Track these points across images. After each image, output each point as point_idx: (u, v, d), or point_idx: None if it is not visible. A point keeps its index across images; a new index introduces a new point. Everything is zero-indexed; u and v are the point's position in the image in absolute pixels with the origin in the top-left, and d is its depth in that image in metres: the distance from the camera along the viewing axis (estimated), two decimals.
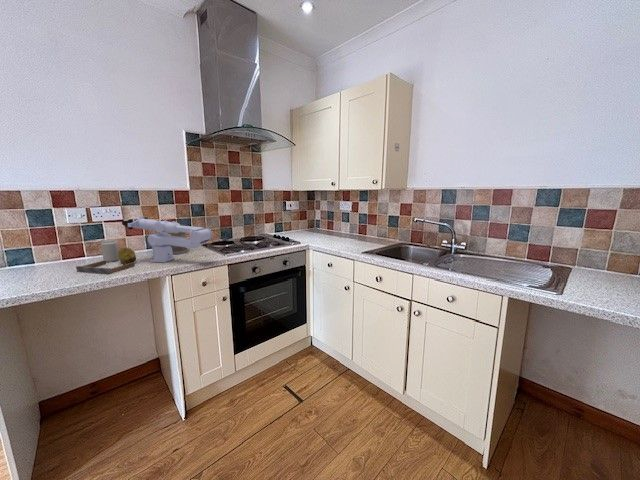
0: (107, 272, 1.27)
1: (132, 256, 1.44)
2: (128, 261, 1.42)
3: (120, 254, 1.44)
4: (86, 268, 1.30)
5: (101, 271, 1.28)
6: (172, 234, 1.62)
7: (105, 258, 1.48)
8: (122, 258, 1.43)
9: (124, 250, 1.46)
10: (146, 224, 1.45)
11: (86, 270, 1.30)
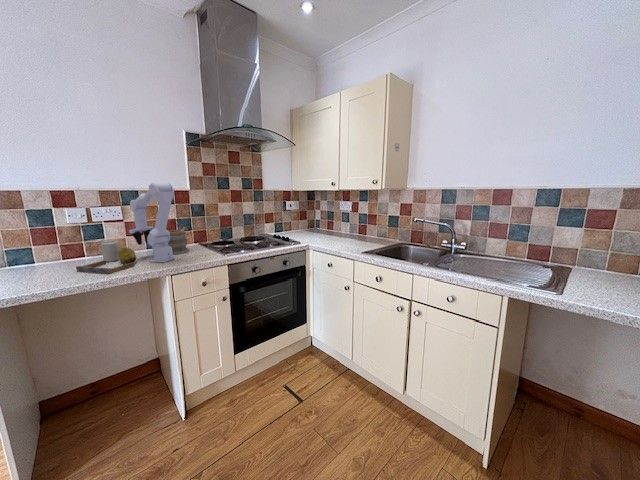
0: (107, 272, 1.27)
1: (132, 256, 1.44)
2: (128, 261, 1.42)
3: (120, 254, 1.44)
4: (86, 268, 1.30)
5: (101, 271, 1.28)
6: (172, 234, 1.62)
7: (105, 258, 1.48)
8: (122, 258, 1.43)
9: (124, 250, 1.46)
10: (134, 218, 1.52)
11: (86, 270, 1.30)
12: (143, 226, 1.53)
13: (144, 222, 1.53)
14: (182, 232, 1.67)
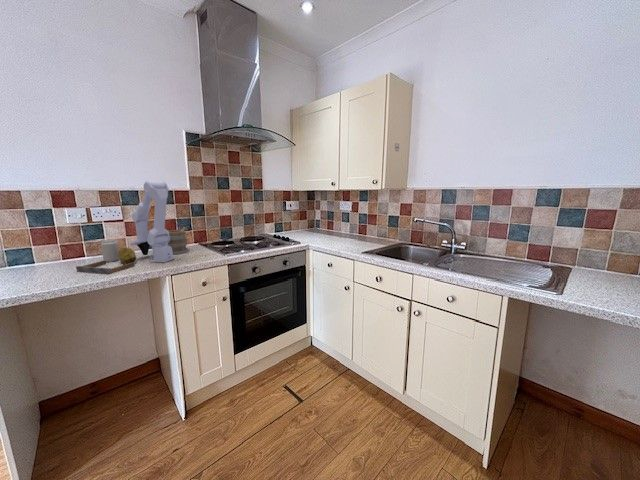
0: (107, 272, 1.27)
1: (132, 256, 1.44)
2: (128, 261, 1.42)
3: (120, 254, 1.44)
4: (86, 268, 1.30)
5: (101, 271, 1.28)
6: (172, 234, 1.62)
7: (105, 258, 1.48)
8: (122, 258, 1.43)
9: (124, 250, 1.46)
10: (136, 230, 1.53)
11: (86, 270, 1.30)
12: (145, 238, 1.54)
13: (146, 234, 1.55)
14: (182, 232, 1.67)
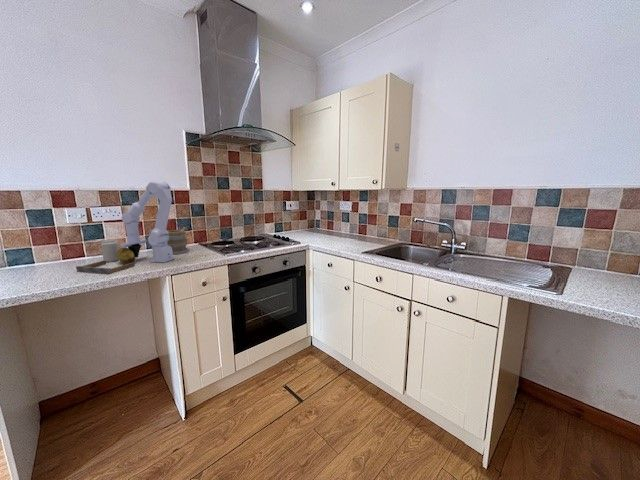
0: (107, 272, 1.27)
1: (131, 256, 1.43)
2: (127, 261, 1.42)
3: (119, 254, 1.44)
4: (86, 268, 1.30)
5: (101, 271, 1.28)
6: (172, 234, 1.62)
7: (105, 258, 1.48)
8: (121, 258, 1.42)
9: (123, 250, 1.45)
10: (127, 232, 1.47)
11: (86, 270, 1.30)
12: (135, 240, 1.48)
13: (136, 235, 1.49)
14: (182, 232, 1.67)
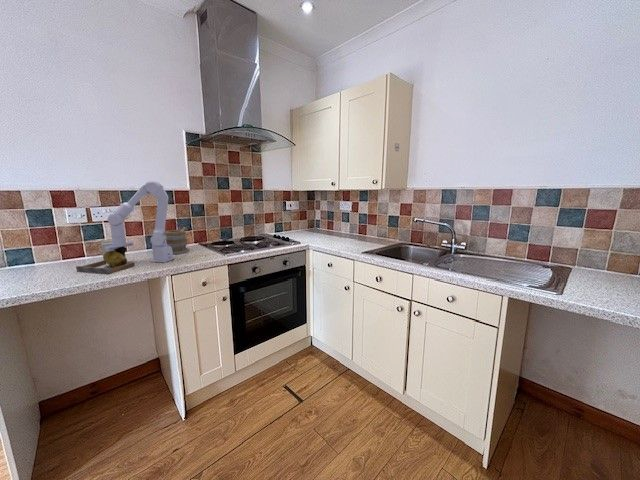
0: (107, 272, 1.27)
1: (123, 258, 1.37)
2: (120, 264, 1.36)
3: (108, 258, 1.36)
4: (86, 268, 1.30)
5: (101, 271, 1.28)
6: (172, 234, 1.62)
7: None
8: (112, 262, 1.35)
9: (111, 253, 1.38)
10: (115, 234, 1.39)
11: (86, 270, 1.30)
12: (121, 242, 1.40)
13: (122, 238, 1.41)
14: (182, 232, 1.67)
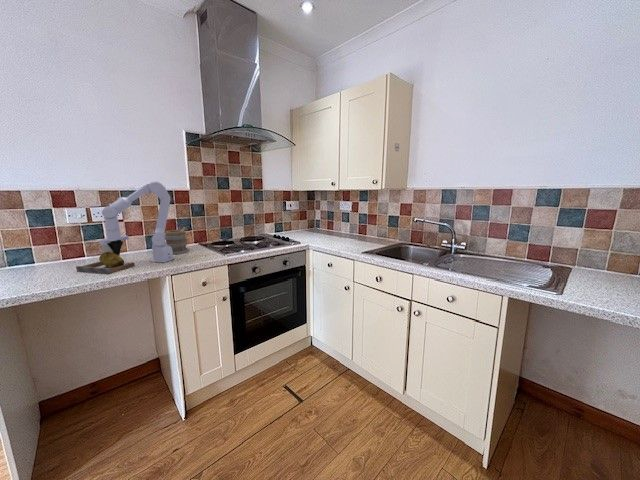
0: (107, 272, 1.27)
1: (120, 259, 1.35)
2: (117, 265, 1.34)
3: (104, 259, 1.34)
4: (86, 268, 1.30)
5: (101, 271, 1.28)
6: (172, 234, 1.62)
7: None
8: (108, 263, 1.33)
9: (107, 254, 1.35)
10: (110, 228, 1.35)
11: (86, 270, 1.30)
12: (115, 236, 1.37)
13: (117, 231, 1.38)
14: (182, 232, 1.67)
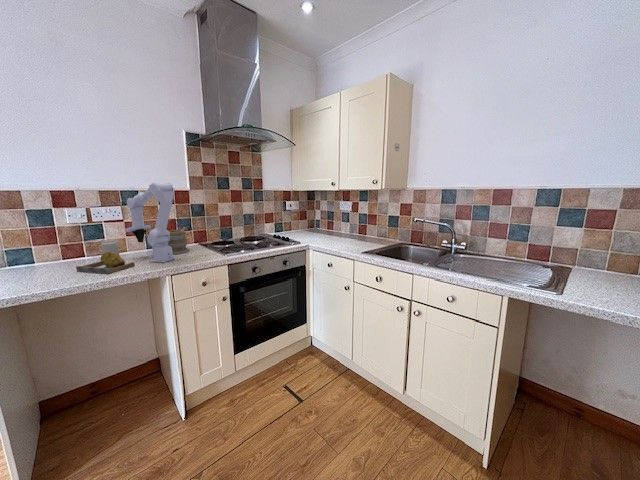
0: (107, 272, 1.27)
1: (121, 260, 1.35)
2: (117, 266, 1.34)
3: (105, 259, 1.34)
4: (86, 268, 1.30)
5: (101, 271, 1.28)
6: (172, 234, 1.62)
7: None
8: (109, 263, 1.33)
9: (109, 255, 1.36)
10: (131, 217, 1.51)
11: (86, 270, 1.30)
12: (140, 224, 1.52)
13: (141, 220, 1.52)
14: (182, 232, 1.67)
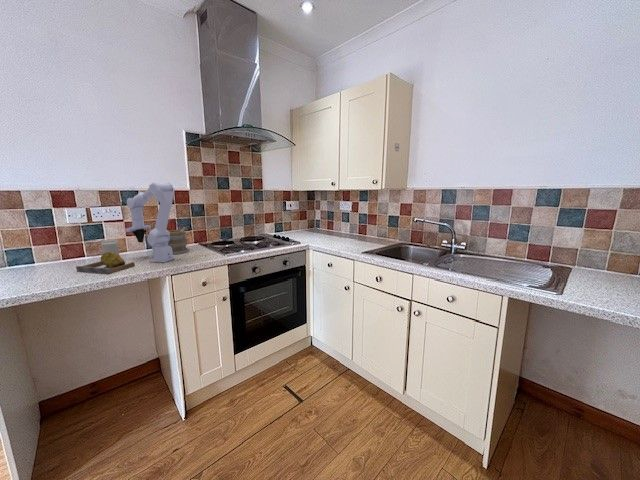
0: (107, 272, 1.27)
1: (121, 260, 1.35)
2: (117, 266, 1.34)
3: (105, 259, 1.34)
4: (86, 268, 1.30)
5: (101, 271, 1.28)
6: (172, 234, 1.62)
7: None
8: (109, 263, 1.33)
9: (109, 255, 1.36)
10: (131, 217, 1.51)
11: (86, 270, 1.30)
12: (140, 224, 1.52)
13: (141, 220, 1.52)
14: (182, 232, 1.67)
